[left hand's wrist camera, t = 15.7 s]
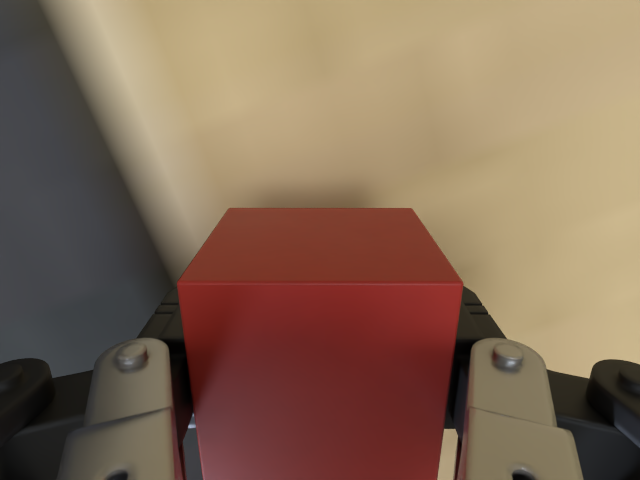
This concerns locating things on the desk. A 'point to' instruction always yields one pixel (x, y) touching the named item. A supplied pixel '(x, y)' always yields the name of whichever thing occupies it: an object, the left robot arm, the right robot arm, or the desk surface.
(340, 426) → the brick
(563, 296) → the desk surface
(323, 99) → the desk surface
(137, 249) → the desk surface
